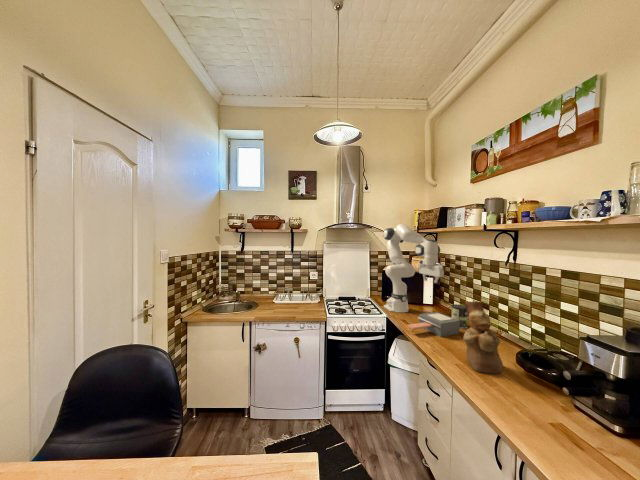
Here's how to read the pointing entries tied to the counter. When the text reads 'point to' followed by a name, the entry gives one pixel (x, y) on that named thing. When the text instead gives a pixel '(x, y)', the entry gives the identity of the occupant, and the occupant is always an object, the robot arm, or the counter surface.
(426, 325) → the ticket
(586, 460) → the counter surface
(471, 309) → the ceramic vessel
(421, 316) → the dispenser
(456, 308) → the coffee can
